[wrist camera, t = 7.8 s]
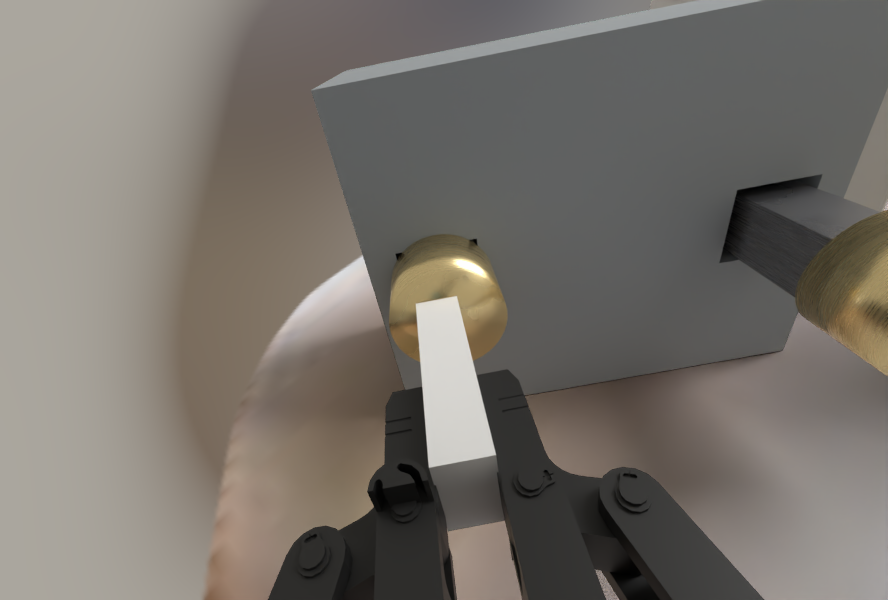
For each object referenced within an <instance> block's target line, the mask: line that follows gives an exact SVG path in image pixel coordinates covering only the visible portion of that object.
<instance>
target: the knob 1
mask: <svg viewBox="0 0 888 600" xmlns="http://www.w3.org/2000/svg"><path fill="white" fill-rule="evenodd" d="M453 296H457V299H458V303H459V307H460V311H461V315H462V319H463V323H464V327H465V331H466V335H467V340H468V344H469V348H470V352H471V356H472V360H473V361H474V360H476V359H478V358H480V357H481V356H483V355H485V354H486V353H487V352H489V351H490V350H491V349H492V348H493V347H494V346H495V345H496V344H497V343H498V341H499V340H500V338H501V337H502V335H503V333H504V331H505V328H506V325H507V318H508V317H507V307H506V303H505V300H504V298H503V295H502V292H501V290H500V287H499V284H498V281H497V279H496V276H495V273H494V271H493V268H492V265H491V262H490V260H489V258H488V256H487V255H486V253H485V252H484V251H483V250H482V249H481V248H480V247H479V246H478V245H477V244H475V243H474V242H472V241H470V240H469V239H466V238H464V237H461V236H457V235H451V234H438V235H432V236H428V237H425V238H422V239H420V240H418V241H416V242H414V243H413V244H411V245H410V246H409V247H408V248H406V249H405V250H404V251H403V252H402V254H401V255H400V256H399V258H398V259H397V261H396V263H395V265H394V268H393V272H392V280H391V296H390V311H389V328H390V332H391V335H392V337H393V340H394V341H395V343H396V344H397V346H398V347H399V348H400V349H401V350H402V351H403V352H404V353H405V354H406V355H408V356H409V357H411V358H413V359H414V360H416V361H419V362H420V351H419V339H418V327H417V314H416V304H417V303H422V302H427V301H432V300H438V299H443V298H448V297H453Z"/></svg>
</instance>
